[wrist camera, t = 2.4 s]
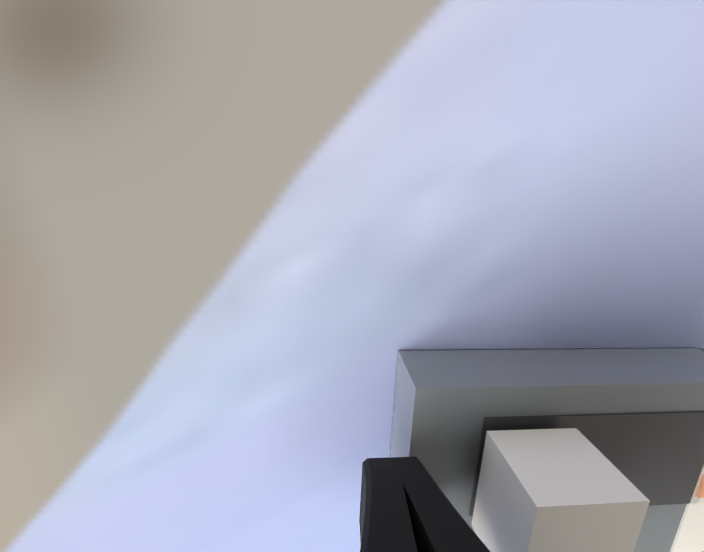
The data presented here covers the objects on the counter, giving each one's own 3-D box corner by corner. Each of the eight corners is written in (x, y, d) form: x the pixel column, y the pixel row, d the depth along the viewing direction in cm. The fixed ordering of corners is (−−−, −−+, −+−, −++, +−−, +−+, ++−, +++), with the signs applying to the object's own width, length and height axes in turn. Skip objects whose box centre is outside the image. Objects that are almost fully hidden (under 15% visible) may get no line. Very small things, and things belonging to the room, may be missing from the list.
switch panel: (613, 611, 15) (658, 678, 13) (374, 632, 14) (385, 709, 12) (697, 348, 12) (775, 384, 10) (398, 350, 11) (417, 391, 9)
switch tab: (553, 519, 10) (615, 608, 8) (471, 524, 10) (512, 617, 8) (576, 428, 10) (650, 500, 7) (486, 431, 9) (536, 506, 7)
